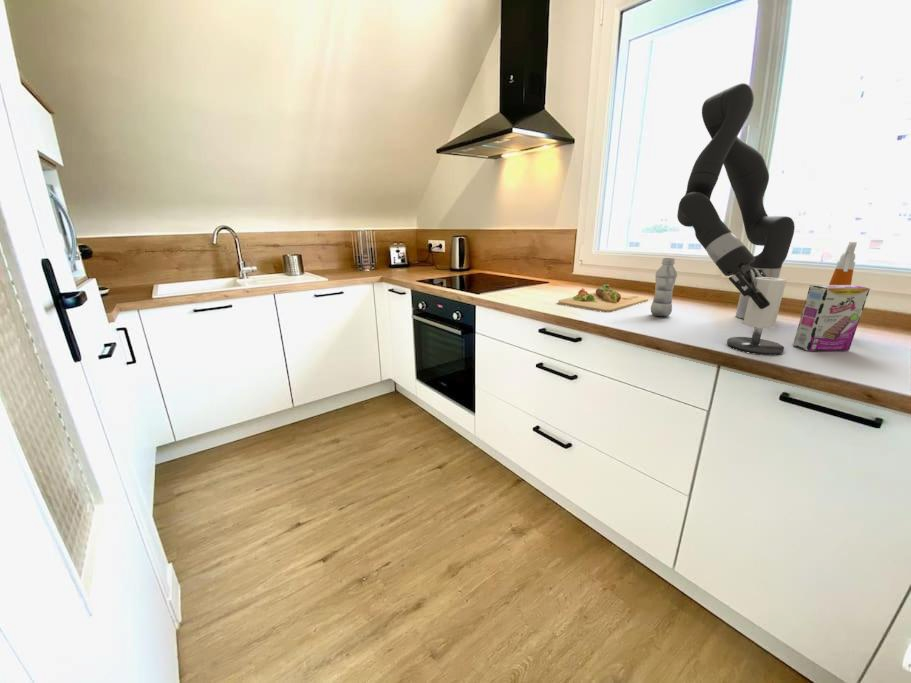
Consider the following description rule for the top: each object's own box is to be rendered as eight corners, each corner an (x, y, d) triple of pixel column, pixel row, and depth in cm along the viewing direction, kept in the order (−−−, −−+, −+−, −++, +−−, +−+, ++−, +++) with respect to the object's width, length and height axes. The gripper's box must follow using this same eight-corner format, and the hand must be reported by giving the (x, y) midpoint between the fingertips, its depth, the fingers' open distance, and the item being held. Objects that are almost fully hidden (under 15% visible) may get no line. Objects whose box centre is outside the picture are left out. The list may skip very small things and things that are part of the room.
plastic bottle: (673, 318, 132) (683, 259, 126) (652, 317, 133) (661, 259, 127) (667, 314, 138) (676, 257, 132) (647, 313, 139) (655, 257, 133)
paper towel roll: (750, 321, 103) (760, 276, 99) (777, 326, 98) (789, 279, 95) (739, 324, 100) (750, 278, 96) (767, 329, 95) (779, 281, 92)
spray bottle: (809, 336, 110) (835, 242, 102) (810, 328, 118) (834, 240, 110) (843, 341, 106) (873, 242, 98) (842, 333, 113) (869, 241, 105)
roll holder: (738, 338, 109) (745, 306, 106) (791, 349, 99) (800, 315, 96) (717, 345, 103) (724, 312, 100) (771, 358, 93) (780, 321, 90)
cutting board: (608, 314, 141) (610, 294, 139) (554, 305, 158) (556, 287, 156) (650, 302, 163) (652, 284, 160) (599, 294, 180) (601, 278, 177)
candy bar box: (808, 352, 97) (827, 288, 92) (791, 346, 102) (808, 284, 97) (851, 351, 97) (871, 287, 93) (832, 345, 102) (850, 284, 97)
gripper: (729, 245, 96) (775, 300, 89) (755, 243, 103) (798, 294, 97) (702, 265, 101) (744, 317, 95) (729, 262, 109) (768, 310, 103)
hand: (771, 305), depth 96 cm, fingers closed on paper towel roll, 6 cm apart
